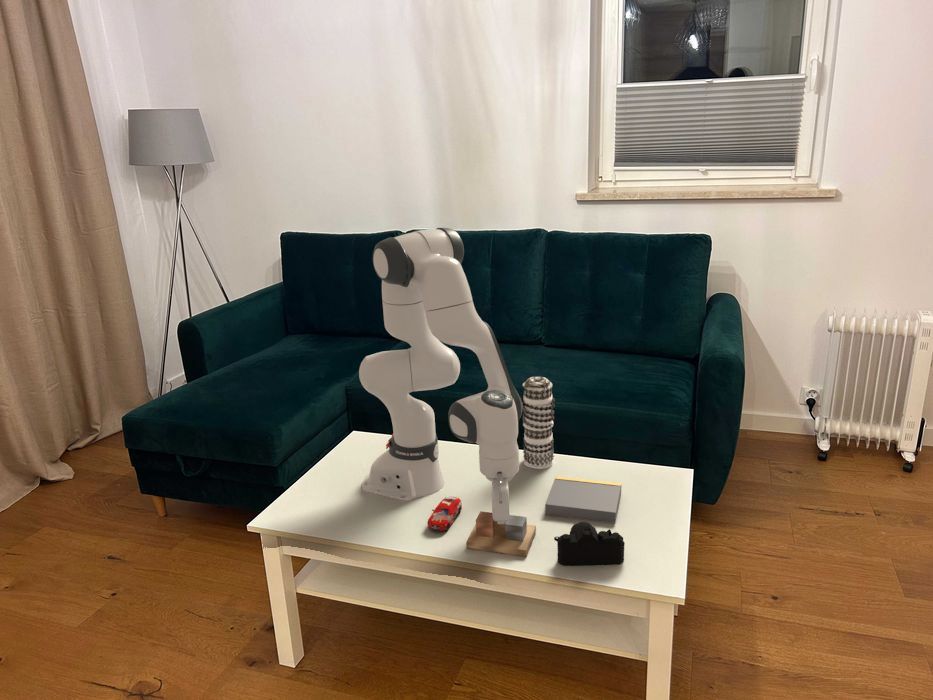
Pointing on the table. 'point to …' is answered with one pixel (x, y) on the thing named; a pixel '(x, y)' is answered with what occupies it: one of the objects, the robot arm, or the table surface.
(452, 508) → the race car
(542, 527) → the table surface
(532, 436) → the decorative candle
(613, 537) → the film camera
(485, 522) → the terracotta crate
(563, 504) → the plate
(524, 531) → the gray cube
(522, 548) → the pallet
